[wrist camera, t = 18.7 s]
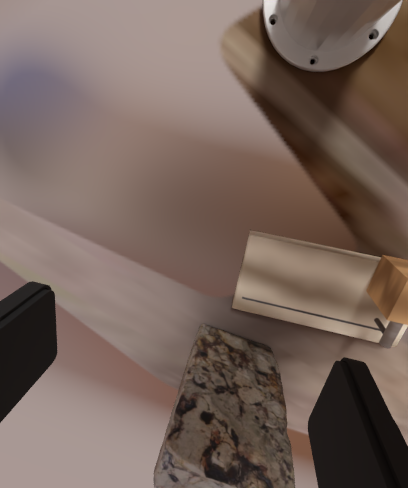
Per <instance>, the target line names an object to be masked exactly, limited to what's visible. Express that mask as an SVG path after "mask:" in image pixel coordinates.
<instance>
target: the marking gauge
mask: <svg viewBox="0 0 408 488" xmlns="http://www.w3.org/2000/svg"><path fill="white" fill-rule="evenodd" d="M366 291H367V293H368V294H369V296H370V297H371V298H372V300H373V301H374V303H375V304H376V305H377V307H378V308H379V310H380V311H381V313H382V314H383V315H384V317H385V318H386V320H388V321H390V322H389V324H388V325H387V327H386V328H385V327H384V325H383V324H382V322H381V321H380V319H379V318H375V319H374V321H375V323H376V324H377V326H378V328H379V329H380V331H381V332H382V334H383V335H382V337H381V339H380V341H379V343H380V345H381V346H383V347H385V348H391V346H392V344H393V342H394V340H395V339H396V337H397V335H398V333H399V331H400V330H401V328H402V326H403V324H406V325H408V260H405V259H400V258H395V257H390V256H386V255H382V257H381V259H380V261H379V264H378V266H377V268H376V270H375V272H374V275H373V277H372V279H371V281H370V283H369V285H368V288H367V290H366Z"/></svg>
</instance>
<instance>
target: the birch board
mask: <svg viewBox="0 0 408 488" xmlns="http://www.w3.org/2000/svg"><path fill="white" fill-rule="evenodd" d="M380 259H381V257H376V256H372V255H367V254H362V253H358V252H353V251H348V250H344V249H339V248H334V247H329V246H324V245H320V244H315V243H311V242H306V241H301V240H296V239H292V238H287V237H282V236H277V235H273V234H268V233H264V232H258V231H254V230H250V232H249V237H248V241H247V245H246V249H245V253H244V257H243V261H242V265H241V269H240V273H239V277H238V281H237V285H236V289H235V293H234V297H233V302H232V308H234V309H238V310H242V311H246V312H251V313H255V314H259V315H263V316H267V317H272V318H276V319H280V320H284V321H288V322H293V323H297V324H301V325H305V326H309V327H314V328H318V329H322V330H326V331H330V332H335V333H339V334H343V335H347V336H351V337H356V338H360V339H364V340H368V341H372V342H377V343H379V341H380V339H381V337H382V335H383V334H382V332H381V331H380V329H379V328H378V326H377V324H376V323H375V321H374V319H375V318H379V319H380V321H381V322H382V324H383V325H384V327H385V328H386V327H387V325H388V324H389V322H390V321H388V320H386V318H385V317H384V315H383V314H382V313H381V311H380V310H379V308H378V307H377V305H376V304H375V303H374V301H373V300H372V298H371V297H370V296H369V294H368V293H367V291H366V290H367V288H368V285H369V283H370V281H371V279H372V277H373V275H374V272H375V270H376V268H377V266H378V264H379V261H380ZM407 326H408V325H406V324H403V326H402V328H401V330H400V331H399V333H398V335H397V337H396V339H395V340H394V342H393V344H392V346H393V347H396V346H397V344H398V342H399V341H400V339H401V337H402V335H403V333H404V332H405V330H406V328H407Z"/></svg>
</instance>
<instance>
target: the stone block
mask: <svg viewBox="0 0 408 488" xmlns="http://www.w3.org/2000/svg"><path fill="white" fill-rule="evenodd" d="M154 488H295V478H294V468H293V460H292V452H291V444H290V440H289V438H288V435H287V418H286V405H285V400H284V395H283V387H282V382H281V377H280V372H279V368H278V364H277V362H276V360H275V359H274V356H273V353H272V351H271V349H270V348H269V347H267V346H265V345H263V344H260V343H256V342H253V341H250V340H248V339H245V338H242V337H240V336H237V335H234V334H231V333H228V332H226V331H224V330H220V329H216V328H213V327H210V326H208V325H205V324H202V325H201V326H200V328H199V330H198V333H197V335H196V338H195V340H194V344H193V347H192V350H191V352H190V356H189V359H188V362H187V365H186V369H185V372H184V375H183V379H182V382H181V385H180V388H179V392H178V395H177V398H176V401H175V404H174V407H173V410H172V413H171V417H170V421H169V424H168V427H167V429H166V433H165V437H164V441H163V444H162V447H161V450H160V453H159V457H158V460H157V463H156V466H155V470H154Z"/></svg>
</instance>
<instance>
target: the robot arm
mask: <svg viewBox="0 0 408 488" xmlns="http://www.w3.org/2000/svg"><path fill="white" fill-rule="evenodd" d="M402 1H403V0H263V18H264V25H265V28H266V31H267V35H268V37H269V39H270V41H271V43H272V45H273V47H274V48H275V50H276V51H277V52H278V53H279V55H280V56H281V57H282V58H283V59H285V60H286V61H287V62H288V63H290V64H291V65H293V66H295V67H297V68H299V69H302V70H307V71H311V72H326V71H331V70H336V69H339V68H341V67H344V66H346V65H349V64H351V63H352V62H354V61H355V60H357V59H359V58H360V57H362V56H363V55H364V54H366V53H367V52H368V51H369V50H371V49H372V48H373V47H374V46H375V45H376V44H377V43H378V42H379V41H380V40H381V39H382V37H383V36H384V35H385V33H386V32H387V30H388V29H389V28H390V26H391V25H392V23H393V21H394V19H395V17H396V16H397V14H398V12H399V10H400V7H401V4H402ZM272 20H274V21H275V24H274V25H271V24H270V22H271V21H272ZM369 35H372V36H373V39H372V40H370V39H369ZM310 60H314V61H315V63H314V64H313V65H311V64H310ZM56 355H57V335H56V314H55V294H54V292H53V291H51V287H50V286H48V285H45V284H41V283H37V282H29V283H27V284H25V285H24V286H23V287H21V288H19V289H18V290H16V291H15V292H13V293H12V294H10V295H9V296H8V297H6V298H4V299H3V300H1V301H0V422H1V421H2V420H3V419H4V418H5V417H6V416H7V414H8V413H9V412H10V411H11V410H12V409H13V407H14V406H15V405H16V404H17V403H18V402H19V401H20V400H21V398H22V397H23V396H24V395H25V394H26V393H27V392H28V390H29V389H30V388H31V387H32V386H33V385H34V384H35V382H36V381H37V380H38V379H39V378H40V377H41V375H42V374H43V373H44V372H45V371H46V370H47V369H48V367H49V366H50V365H51V364H52V363H53V361H54V359H55V358H56ZM308 433H309V438H310V444H311V449H312V455H313V460H314V465H315V471H316V477H317V482H318V487H319V488H408V446H407V444H406V442H405V440H404V438H403V436H402V434H401V432H400V430H399V428H398V426H397V424H396V423H395V421H394V420H393V418H392V416H391V414H390V412H389V410H388V408H387V406H386V404H385V402H384V399H383V397H382V395H381V393H380V391H379V389H378V387H377V385H376V383H375V381H374V379H373V377H372V375H371V373H370V371H369V369H368V367H367V365H366V364H365V363H364V362H361V361H357V360H353V359H349V358H343V359H341V361H336V362H335V363H334V365H333V367H332V369H331V372H330V374H329V376H328V378H327V380H326V382H325V385H324V387H323V389H322V391H321V393H320V396H319V398H318V400H317V402H316V404H315V406H314V409H313V411H312V413H311V415H310V417H309V421H308Z"/></svg>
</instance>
